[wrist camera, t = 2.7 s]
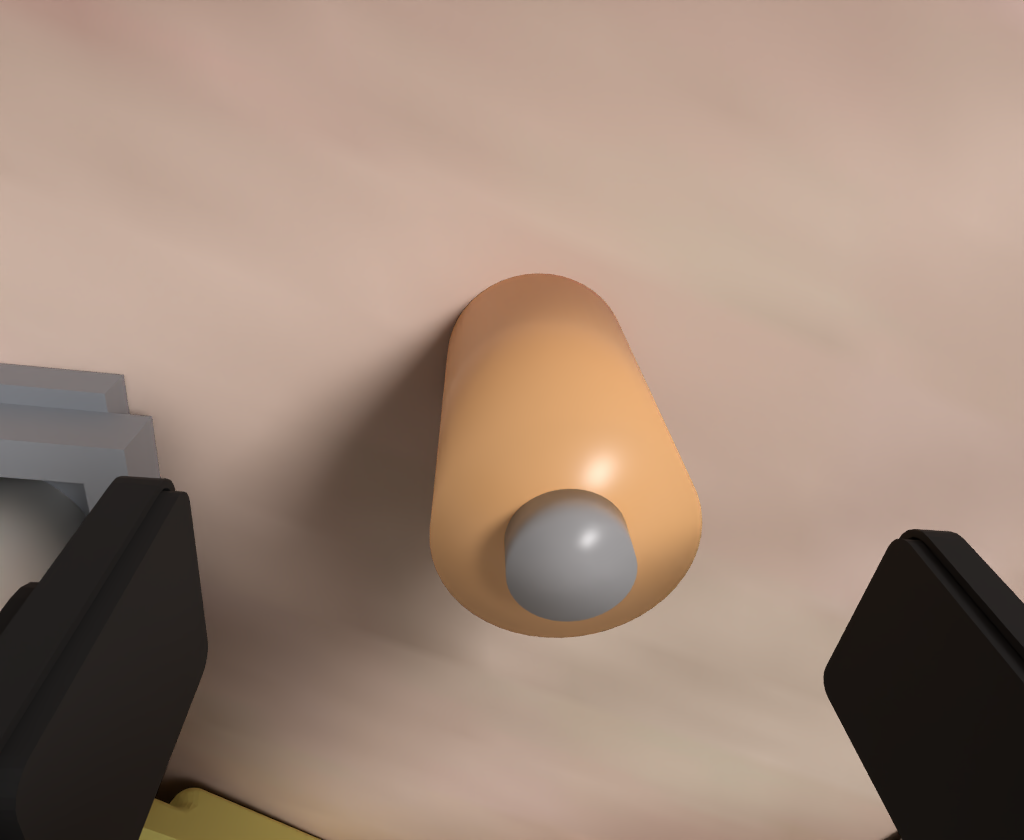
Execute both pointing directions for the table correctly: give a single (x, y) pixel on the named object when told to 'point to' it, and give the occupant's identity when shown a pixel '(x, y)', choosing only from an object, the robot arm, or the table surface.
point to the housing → (72, 431)
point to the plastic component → (212, 820)
